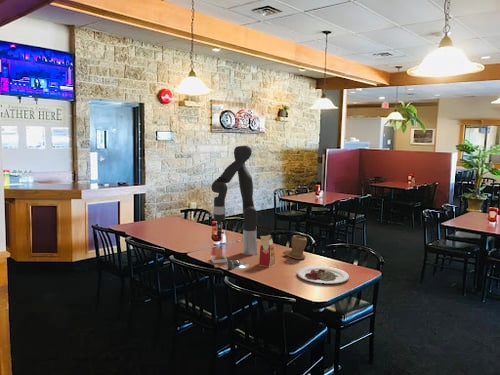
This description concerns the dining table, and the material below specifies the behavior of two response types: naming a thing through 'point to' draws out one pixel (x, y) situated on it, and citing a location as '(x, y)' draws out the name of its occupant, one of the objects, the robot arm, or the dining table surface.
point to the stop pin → (218, 253)
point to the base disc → (242, 266)
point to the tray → (219, 260)
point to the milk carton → (266, 252)
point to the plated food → (323, 274)
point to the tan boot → (297, 247)
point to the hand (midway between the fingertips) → (219, 238)
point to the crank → (235, 263)
